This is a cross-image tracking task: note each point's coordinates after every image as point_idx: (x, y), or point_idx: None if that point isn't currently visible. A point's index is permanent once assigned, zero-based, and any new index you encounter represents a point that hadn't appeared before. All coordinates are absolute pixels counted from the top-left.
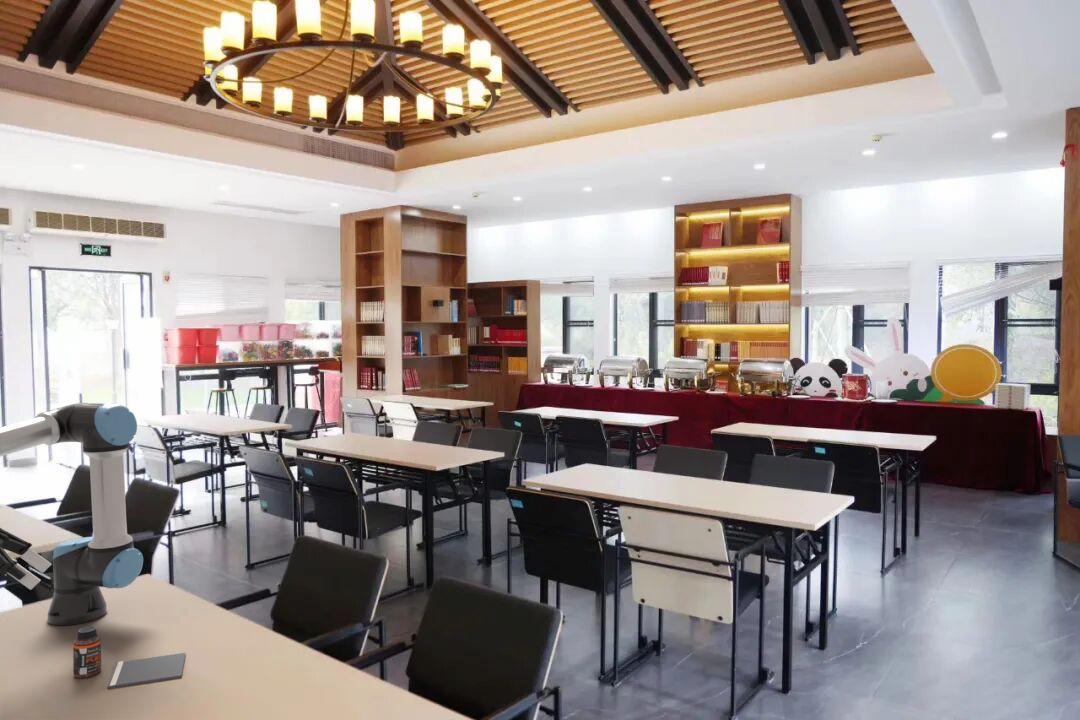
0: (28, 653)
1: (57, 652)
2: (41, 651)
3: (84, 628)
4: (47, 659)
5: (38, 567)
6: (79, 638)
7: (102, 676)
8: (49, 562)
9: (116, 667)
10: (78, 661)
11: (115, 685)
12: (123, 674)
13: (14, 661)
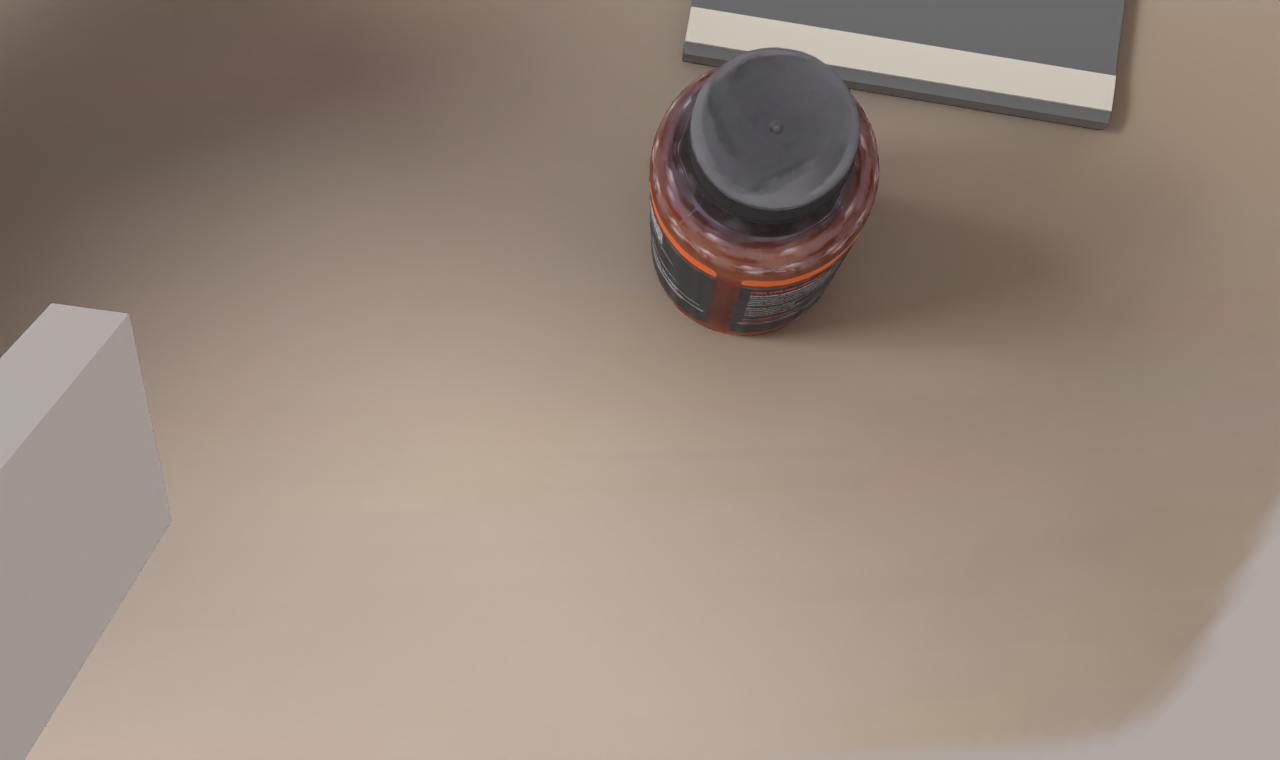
0: None
1: None
2: None
3: (737, 149)
4: (267, 520)
5: (87, 603)
6: (810, 215)
7: None
8: (22, 346)
9: None
10: (832, 275)
11: (1112, 77)
12: (945, 19)
13: (158, 756)
